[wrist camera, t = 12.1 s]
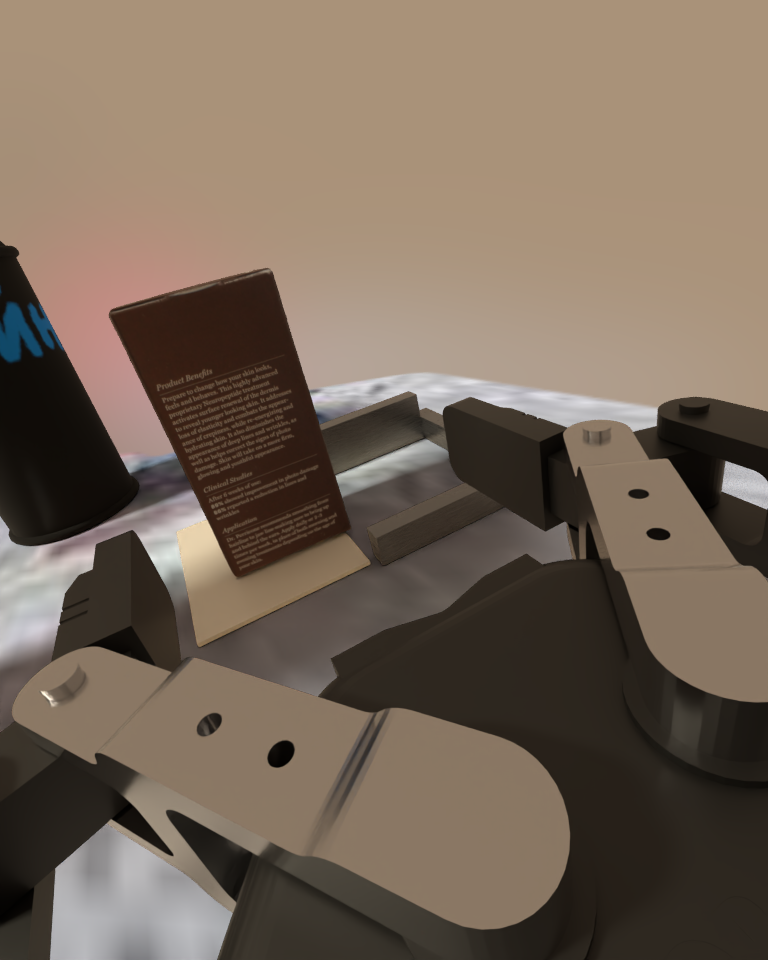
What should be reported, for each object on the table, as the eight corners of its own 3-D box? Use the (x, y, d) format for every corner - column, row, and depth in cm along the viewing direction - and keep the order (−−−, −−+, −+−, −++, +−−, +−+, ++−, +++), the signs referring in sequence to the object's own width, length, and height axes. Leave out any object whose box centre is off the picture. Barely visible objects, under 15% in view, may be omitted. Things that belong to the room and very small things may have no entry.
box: (326, 496, 27) (255, 266, 22) (354, 532, 23) (276, 266, 18) (220, 538, 26) (114, 302, 20) (231, 584, 22) (103, 310, 16)
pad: (198, 647, 19) (196, 643, 19) (177, 534, 27) (176, 531, 27) (370, 564, 21) (369, 560, 21) (303, 483, 30) (302, 480, 30)
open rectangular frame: (383, 566, 21) (368, 508, 20) (306, 478, 30) (292, 434, 29) (545, 486, 24) (541, 431, 22) (429, 428, 33) (422, 386, 31)
